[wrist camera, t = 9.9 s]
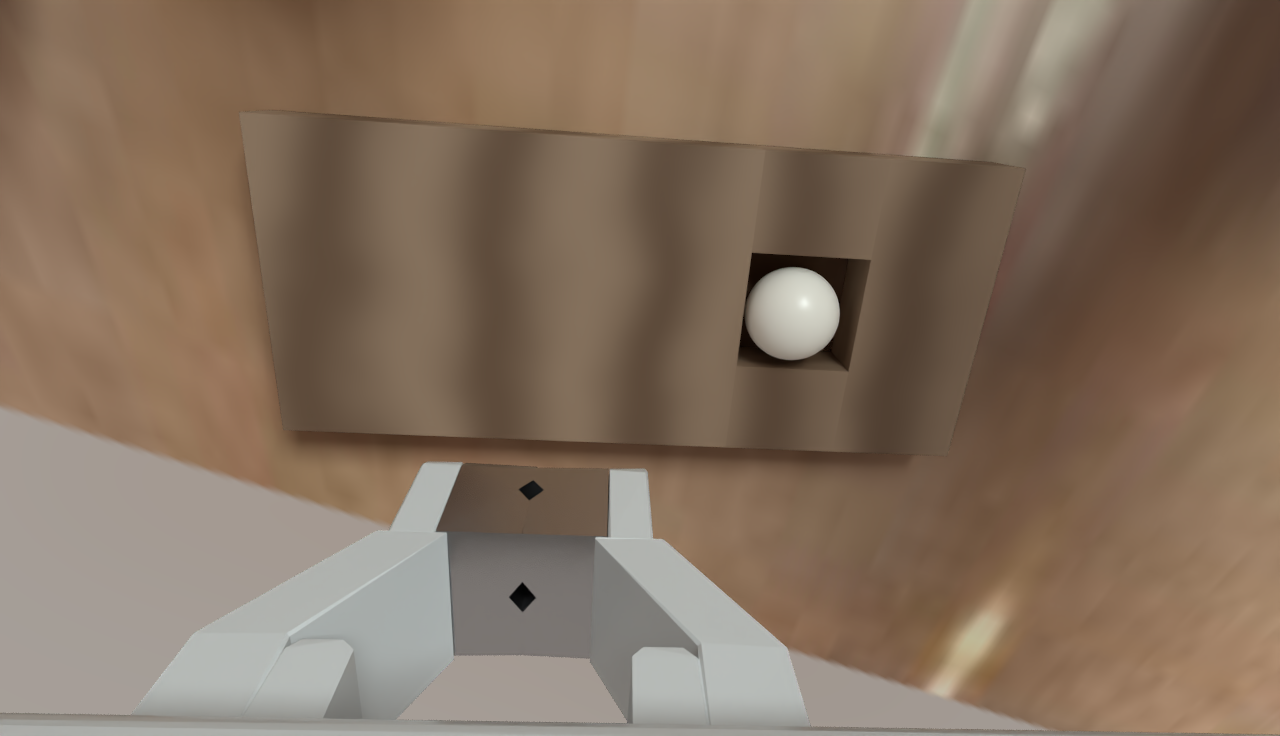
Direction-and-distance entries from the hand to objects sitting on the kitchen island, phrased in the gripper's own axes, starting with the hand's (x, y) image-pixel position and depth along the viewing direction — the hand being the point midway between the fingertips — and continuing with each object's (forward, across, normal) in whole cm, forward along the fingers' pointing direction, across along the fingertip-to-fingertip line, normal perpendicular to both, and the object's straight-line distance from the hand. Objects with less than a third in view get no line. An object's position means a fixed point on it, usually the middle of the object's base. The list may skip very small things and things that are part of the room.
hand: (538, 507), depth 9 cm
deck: (+22, -2, +3) cm, 22 cm away
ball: (+20, -9, +3) cm, 22 cm away
